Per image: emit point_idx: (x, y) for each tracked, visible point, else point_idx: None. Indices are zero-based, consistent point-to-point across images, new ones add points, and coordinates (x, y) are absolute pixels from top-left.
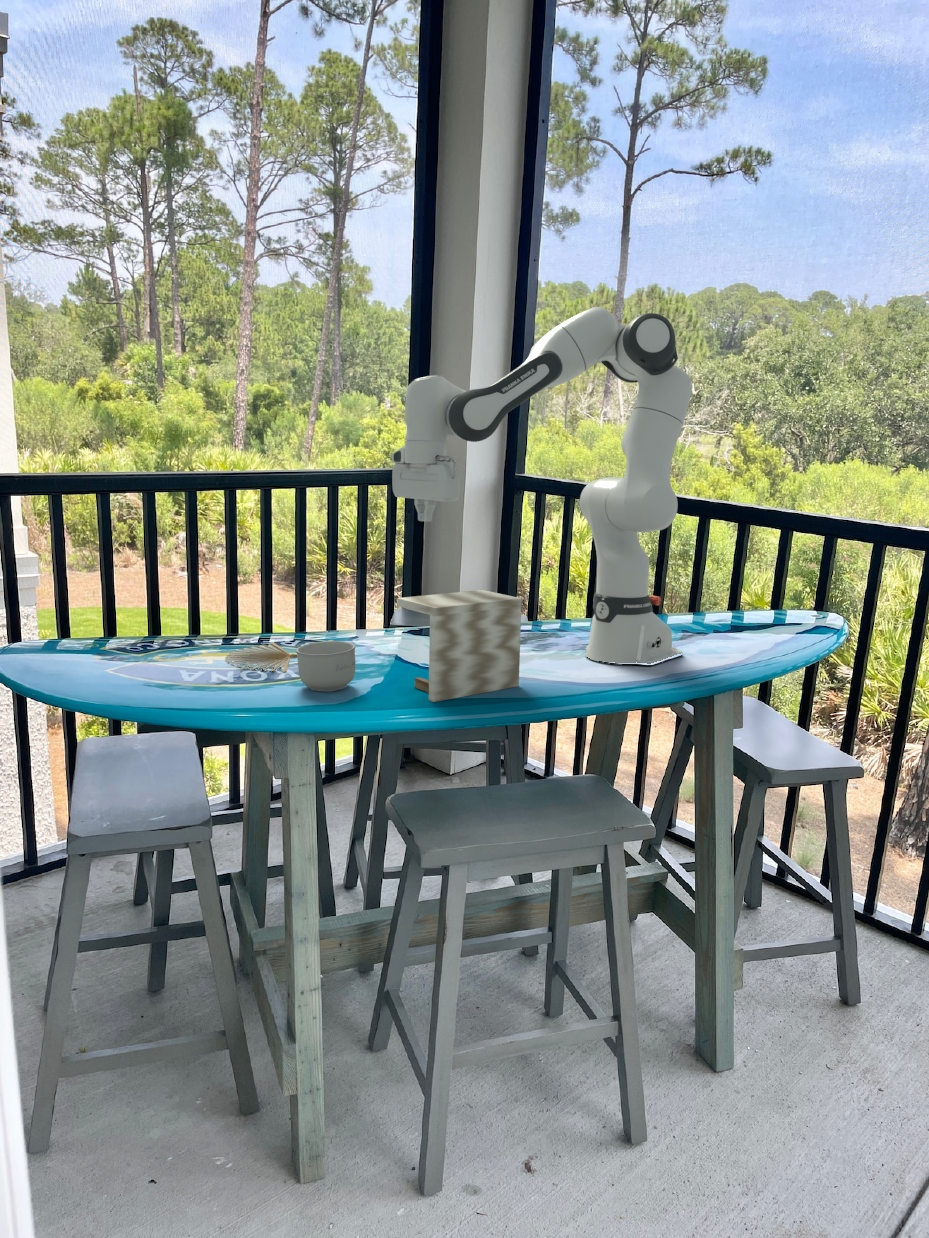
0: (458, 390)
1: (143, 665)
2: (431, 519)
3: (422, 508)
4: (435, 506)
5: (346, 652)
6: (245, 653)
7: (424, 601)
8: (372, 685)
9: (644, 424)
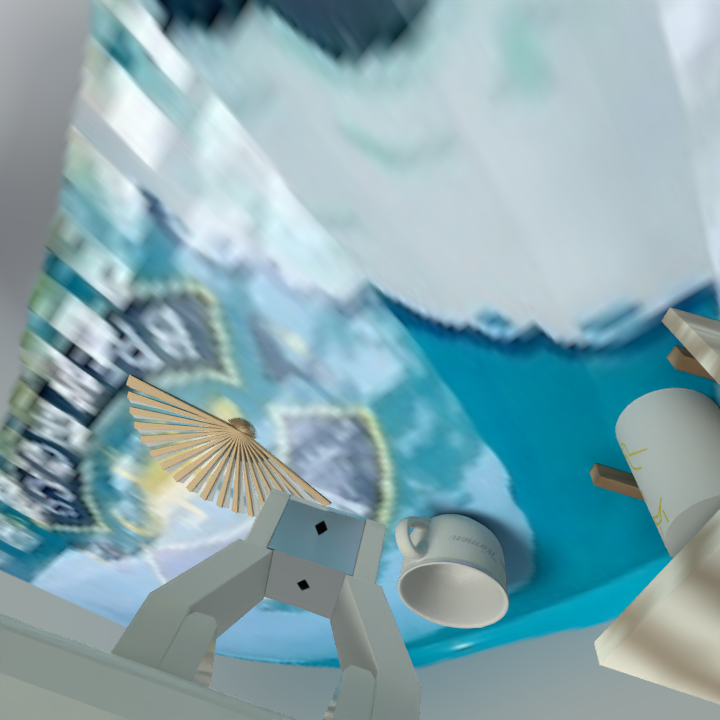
0: None
1: (165, 558)
2: (381, 536)
3: (231, 596)
4: (413, 670)
5: (508, 605)
6: (173, 452)
7: (700, 675)
8: (508, 494)
9: None
